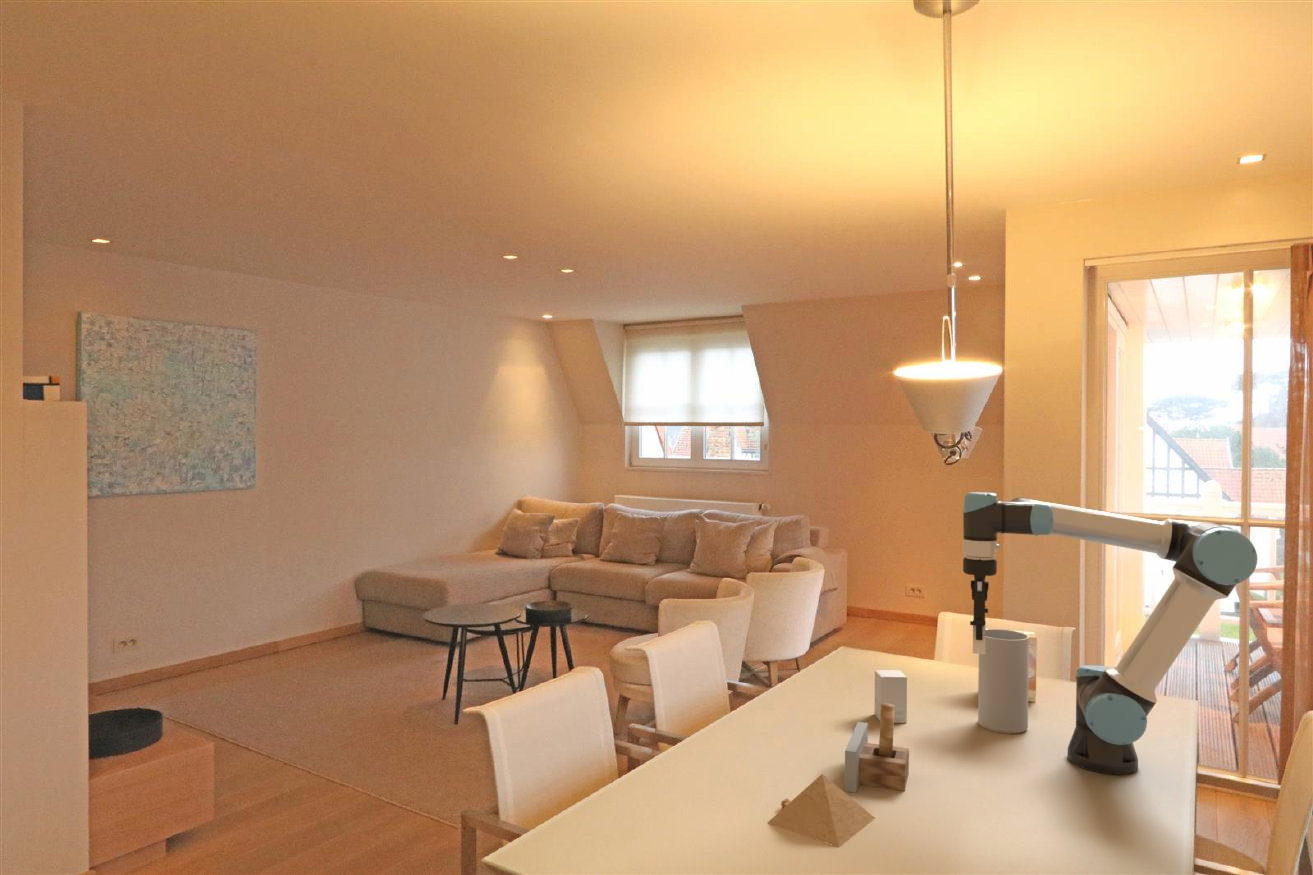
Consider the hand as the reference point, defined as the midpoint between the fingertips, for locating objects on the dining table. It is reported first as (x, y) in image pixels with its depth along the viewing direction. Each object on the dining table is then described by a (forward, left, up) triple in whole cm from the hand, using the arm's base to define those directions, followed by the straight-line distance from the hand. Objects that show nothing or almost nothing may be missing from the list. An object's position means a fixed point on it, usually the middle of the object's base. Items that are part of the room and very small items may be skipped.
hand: (979, 646), depth 202 cm
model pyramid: (+30, +42, -29) cm, 59 cm away
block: (+20, +16, -29) cm, 38 cm away
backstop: (+26, +16, -29) cm, 42 cm away
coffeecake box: (-8, -61, -29) cm, 68 cm away
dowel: (+20, +16, -26) cm, 36 cm away
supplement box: (+23, -27, -29) cm, 46 cm away
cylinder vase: (-6, -32, -29) cm, 44 cm away
